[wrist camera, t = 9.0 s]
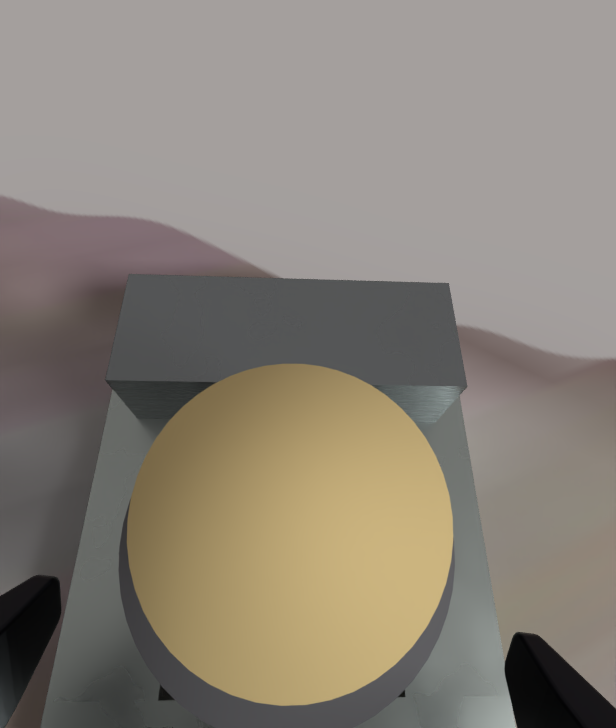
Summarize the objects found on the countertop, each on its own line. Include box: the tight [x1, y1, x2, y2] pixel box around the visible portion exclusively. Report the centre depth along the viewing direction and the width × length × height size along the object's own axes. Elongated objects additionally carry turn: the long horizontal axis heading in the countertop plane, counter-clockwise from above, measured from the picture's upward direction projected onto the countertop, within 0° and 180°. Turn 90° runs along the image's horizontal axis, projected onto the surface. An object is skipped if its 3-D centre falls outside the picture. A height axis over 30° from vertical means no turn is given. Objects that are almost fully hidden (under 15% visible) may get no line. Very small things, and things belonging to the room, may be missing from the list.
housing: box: [40, 274, 516, 728], centre depth 13 cm, size 16×12×6 cm
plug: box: [118, 364, 455, 728], centre depth 10 cm, size 5×5×13 cm
